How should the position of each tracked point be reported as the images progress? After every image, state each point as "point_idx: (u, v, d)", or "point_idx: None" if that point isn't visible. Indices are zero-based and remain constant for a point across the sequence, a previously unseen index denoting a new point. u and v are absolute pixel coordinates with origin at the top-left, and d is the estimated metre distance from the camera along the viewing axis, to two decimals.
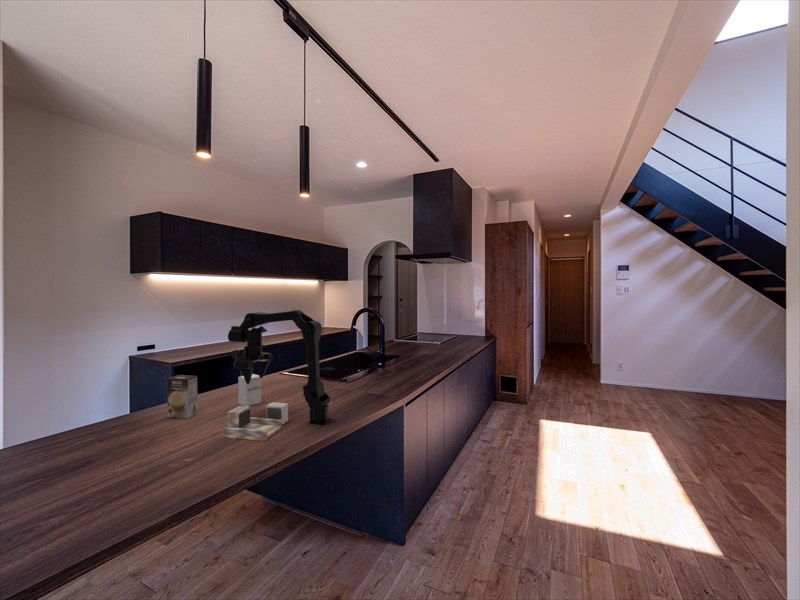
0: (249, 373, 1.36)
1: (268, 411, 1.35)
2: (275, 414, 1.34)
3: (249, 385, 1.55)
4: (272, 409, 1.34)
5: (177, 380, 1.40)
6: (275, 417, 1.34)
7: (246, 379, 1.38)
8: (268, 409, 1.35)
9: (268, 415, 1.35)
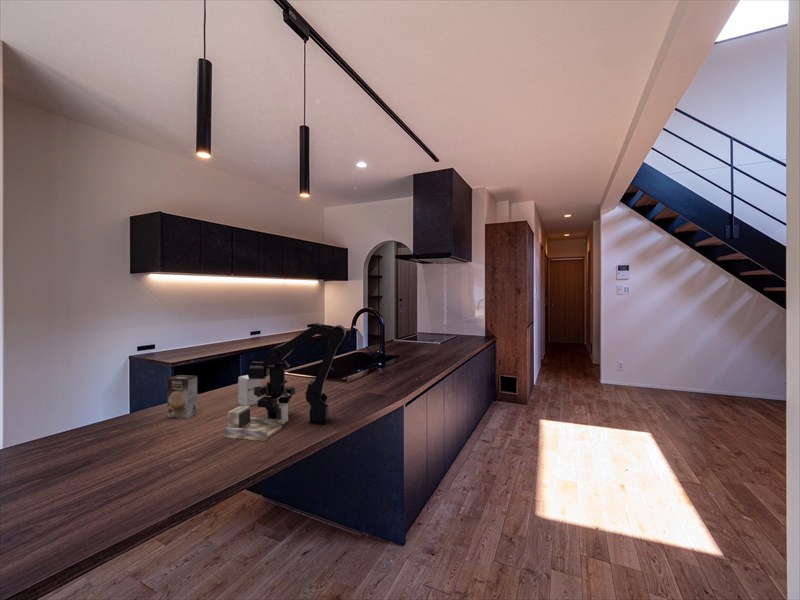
0: (274, 411, 1.32)
1: None
2: None
3: (249, 385, 1.55)
4: None
5: (177, 380, 1.40)
6: None
7: (271, 416, 1.33)
8: None
9: (268, 415, 1.35)
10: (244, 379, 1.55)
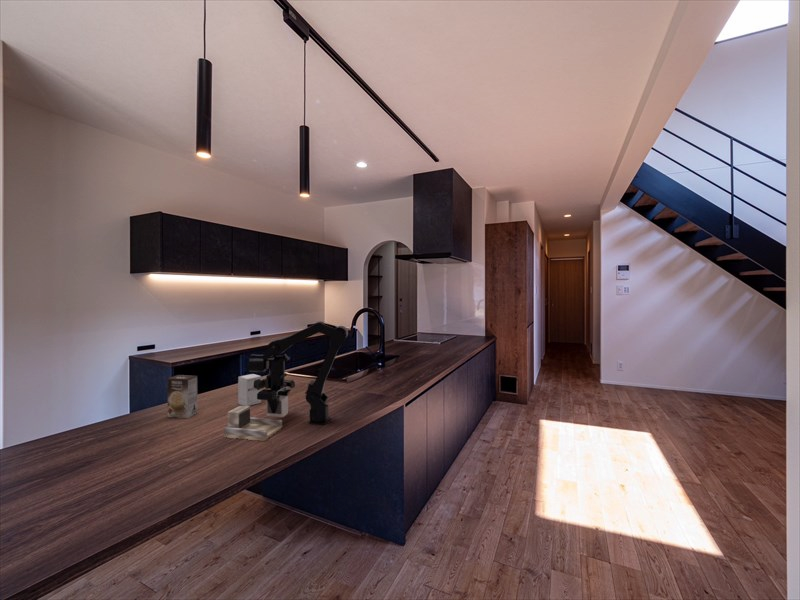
0: (275, 403, 1.33)
1: (268, 403, 1.35)
2: None
3: (249, 385, 1.55)
4: None
5: (177, 380, 1.40)
6: None
7: (272, 408, 1.34)
8: None
9: (268, 407, 1.35)
10: (244, 379, 1.55)
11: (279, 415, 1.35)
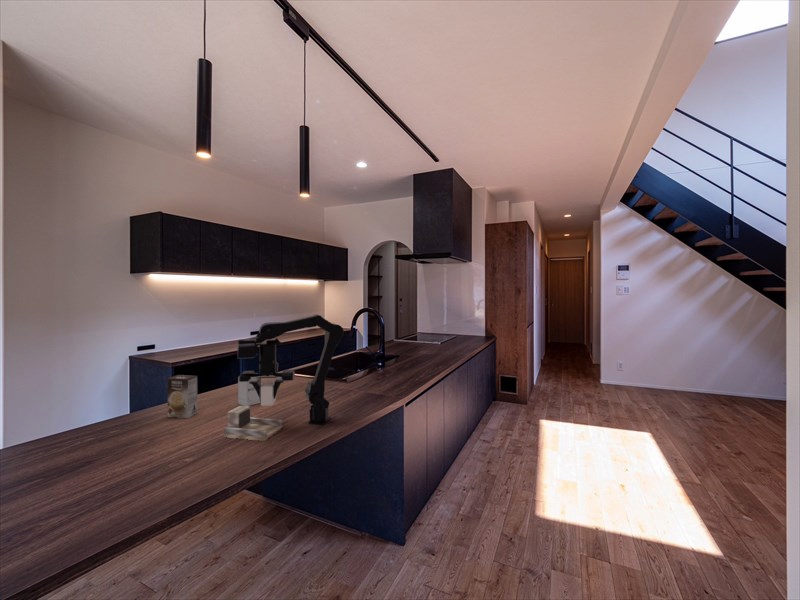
0: None
1: None
2: None
3: (249, 385, 1.55)
4: None
5: (177, 380, 1.40)
6: None
7: None
8: None
9: None
10: None
11: None
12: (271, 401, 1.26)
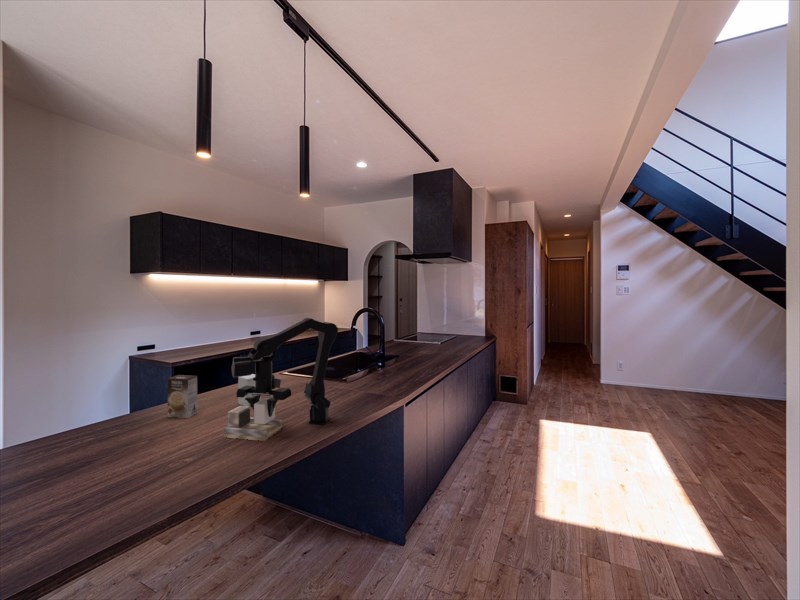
0: None
1: None
2: None
3: (249, 385, 1.55)
4: None
5: (177, 380, 1.40)
6: None
7: None
8: None
9: None
10: (244, 379, 1.55)
11: None
12: (263, 420, 1.22)
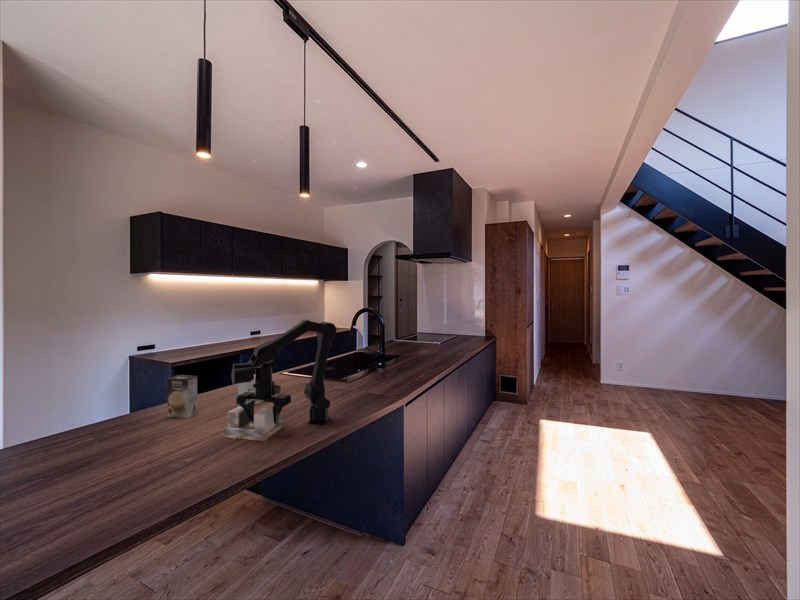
0: None
1: None
2: None
3: (249, 385, 1.55)
4: None
5: (177, 380, 1.40)
6: None
7: None
8: None
9: None
10: None
11: None
12: None
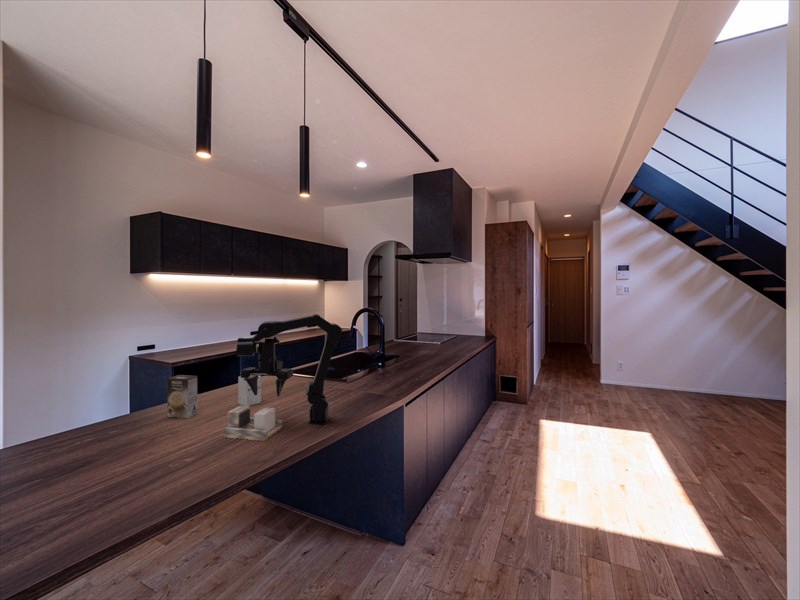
0: None
1: None
2: None
3: None
4: None
5: (177, 380, 1.40)
6: None
7: None
8: None
9: None
10: None
11: None
12: None
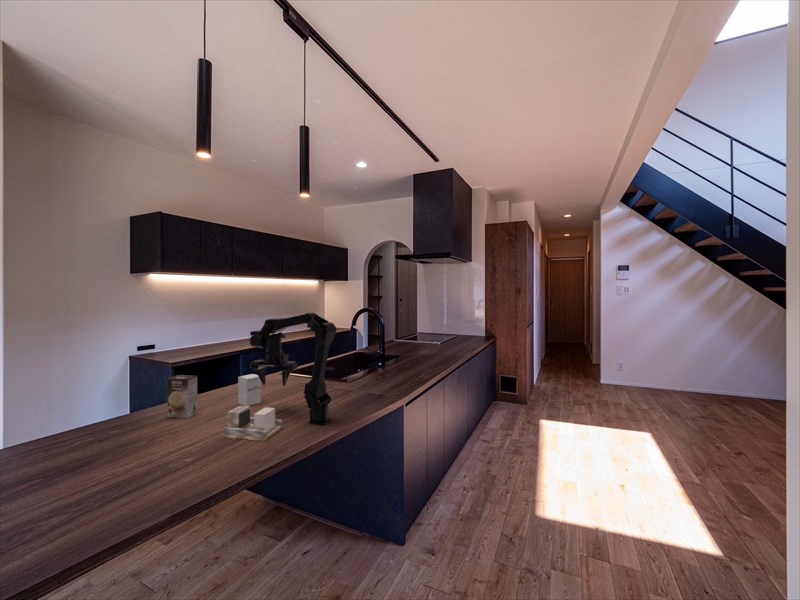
0: None
1: None
2: None
3: (249, 385, 1.55)
4: None
5: (177, 380, 1.40)
6: None
7: None
8: None
9: None
10: (244, 379, 1.55)
11: None
12: None
